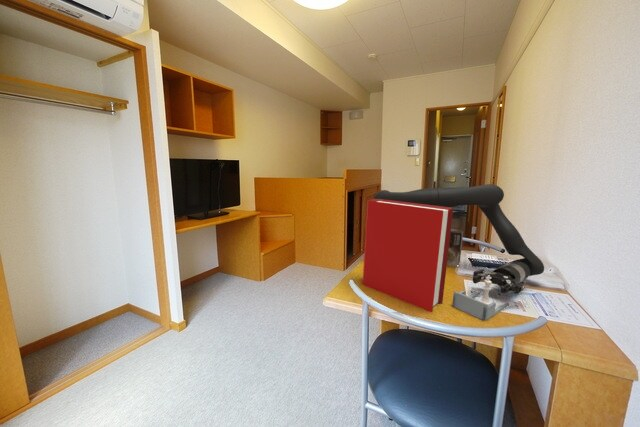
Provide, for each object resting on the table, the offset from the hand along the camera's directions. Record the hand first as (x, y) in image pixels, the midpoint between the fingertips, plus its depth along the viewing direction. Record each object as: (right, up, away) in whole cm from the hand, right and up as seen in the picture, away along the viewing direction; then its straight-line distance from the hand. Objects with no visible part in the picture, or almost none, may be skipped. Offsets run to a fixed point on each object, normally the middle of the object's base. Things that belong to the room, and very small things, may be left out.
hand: (487, 285), depth 89 cm
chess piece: (0, -7, +1) cm, 7 cm away
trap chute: (-3, -7, -1) cm, 7 cm away
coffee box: (+5, 0, +38) cm, 38 cm away
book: (-27, -5, +7) cm, 29 cm away
